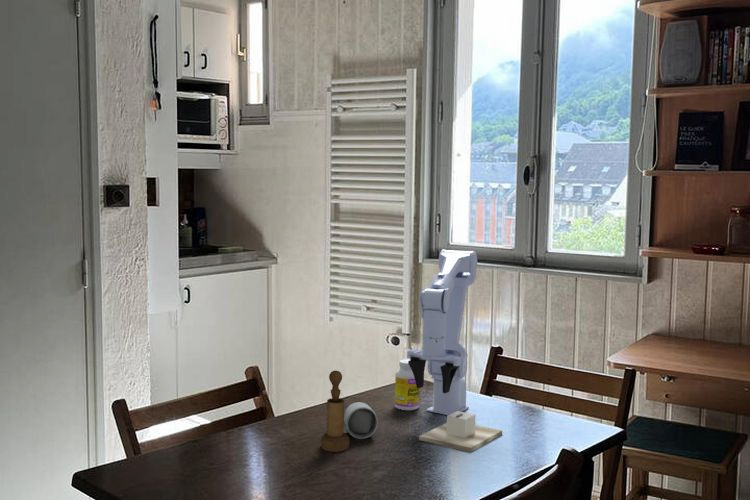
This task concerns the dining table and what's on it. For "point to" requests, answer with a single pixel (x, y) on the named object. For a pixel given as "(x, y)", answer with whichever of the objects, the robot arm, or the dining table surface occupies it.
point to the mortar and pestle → (335, 419)
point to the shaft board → (461, 438)
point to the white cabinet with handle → (461, 424)
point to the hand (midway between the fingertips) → (432, 389)
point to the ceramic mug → (360, 420)
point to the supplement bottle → (406, 388)
